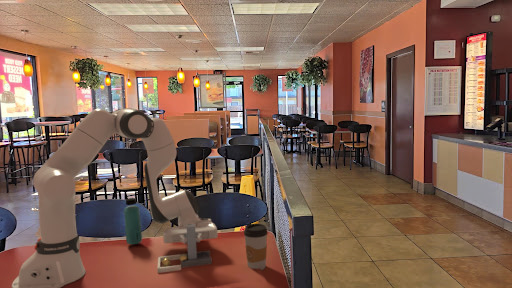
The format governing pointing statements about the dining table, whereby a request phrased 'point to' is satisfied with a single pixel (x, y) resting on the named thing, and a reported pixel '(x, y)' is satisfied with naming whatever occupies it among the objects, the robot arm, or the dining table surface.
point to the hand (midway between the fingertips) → (191, 241)
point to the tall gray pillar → (191, 242)
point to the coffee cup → (256, 245)
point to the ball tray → (168, 268)
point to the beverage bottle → (132, 222)
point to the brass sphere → (183, 258)
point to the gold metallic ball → (166, 262)
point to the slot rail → (201, 259)
